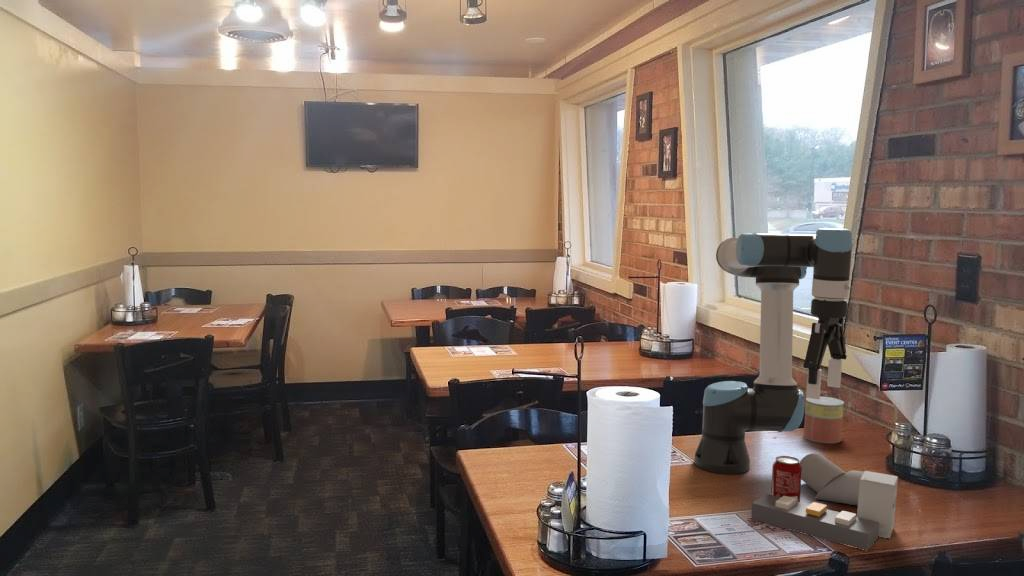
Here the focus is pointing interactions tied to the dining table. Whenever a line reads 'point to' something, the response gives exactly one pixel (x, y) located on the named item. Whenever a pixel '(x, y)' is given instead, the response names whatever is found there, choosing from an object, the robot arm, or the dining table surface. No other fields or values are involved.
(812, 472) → the l-shaped cylinder
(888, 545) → the dining table surface
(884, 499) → the supplement box
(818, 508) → the paddle mid
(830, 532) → the button panel
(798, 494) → the soda can
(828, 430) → the canned food
